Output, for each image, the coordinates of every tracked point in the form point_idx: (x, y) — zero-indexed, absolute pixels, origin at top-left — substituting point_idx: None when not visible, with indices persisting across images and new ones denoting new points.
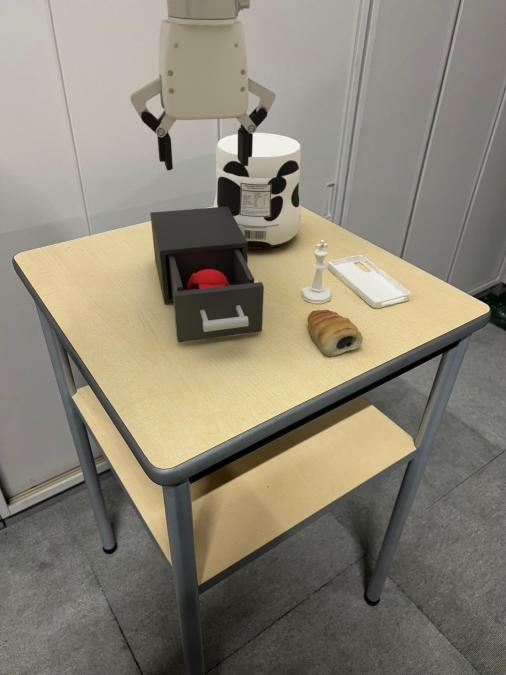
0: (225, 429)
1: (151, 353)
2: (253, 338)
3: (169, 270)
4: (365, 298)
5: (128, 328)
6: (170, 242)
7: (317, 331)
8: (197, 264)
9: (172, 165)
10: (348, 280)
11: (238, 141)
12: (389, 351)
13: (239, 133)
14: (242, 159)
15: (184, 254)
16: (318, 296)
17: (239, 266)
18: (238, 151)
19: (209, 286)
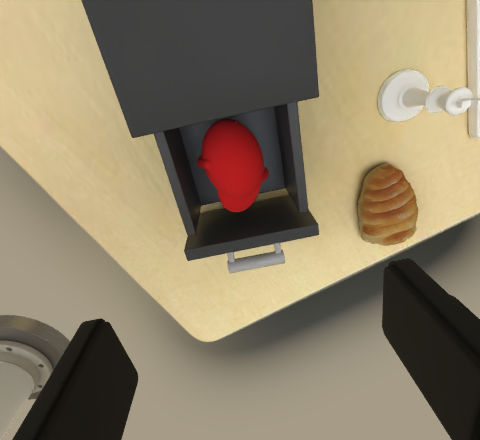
0: (248, 315)
1: (166, 228)
2: None
3: None
4: (472, 117)
5: (123, 181)
6: (146, 96)
7: (366, 222)
8: None
9: (134, 389)
10: (476, 63)
11: (434, 334)
12: (434, 225)
13: (467, 395)
14: (393, 345)
15: None
16: (402, 116)
17: (289, 145)
18: (403, 299)
19: (235, 201)
